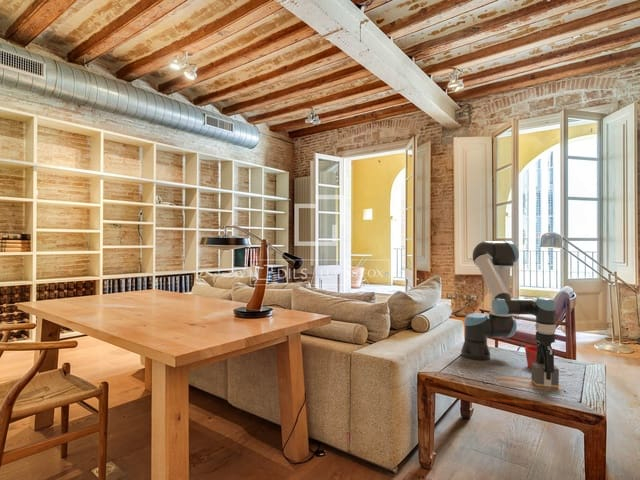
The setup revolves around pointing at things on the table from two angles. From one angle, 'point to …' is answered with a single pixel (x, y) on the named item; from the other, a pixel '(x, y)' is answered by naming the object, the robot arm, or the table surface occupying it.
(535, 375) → the sanding block
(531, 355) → the flower pot
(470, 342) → the robot arm
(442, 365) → the table surface
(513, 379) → the plank
